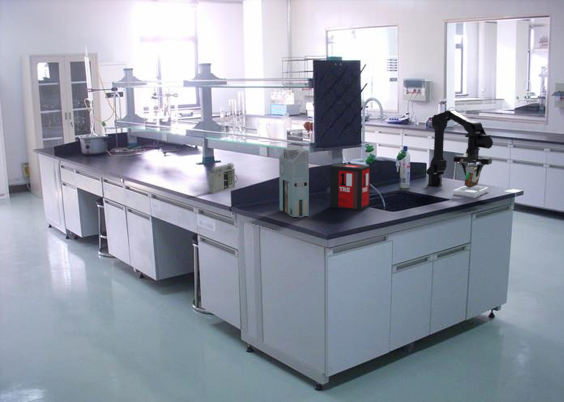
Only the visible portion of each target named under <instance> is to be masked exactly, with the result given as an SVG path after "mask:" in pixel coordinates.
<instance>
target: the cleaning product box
mask: <svg viewBox="0 0 564 402" xmlns="http://www.w3.org/2000/svg"><path fill="white" fill-rule="evenodd" d="M329 168H330V169H329V170H330V172H329V208H336V209H344V210H353V211H360V212H362V211H364V210H367V209H368V208H370V192H371V191H370V187H371V184H370V183H371V182H370V181H371V180H370V179H371V166H370V165H364V164H363V165H361V164H353V163H352V164H351V163H349V164H348V163H341V162H340V163H339V162H338V163H336V164H335V163H334V164H332V165H330V167H329Z"/></svg>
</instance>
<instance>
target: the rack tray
mask: <svg viewBox="0 0 564 402" xmlns="http://www.w3.org/2000/svg"><path fill="white" fill-rule="evenodd" d="M487 193H489V187H487V186H480V185H479V186H478V185H476V186H474V187H471V188H470V187H467V186H465V185H464V186H460V187H459V188H458V187H457V188H455V189H453V190H452V195H453V196H457V197H466V198H474V199H476V198H478V197H480V196H483V195H485V194H487Z"/></svg>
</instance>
